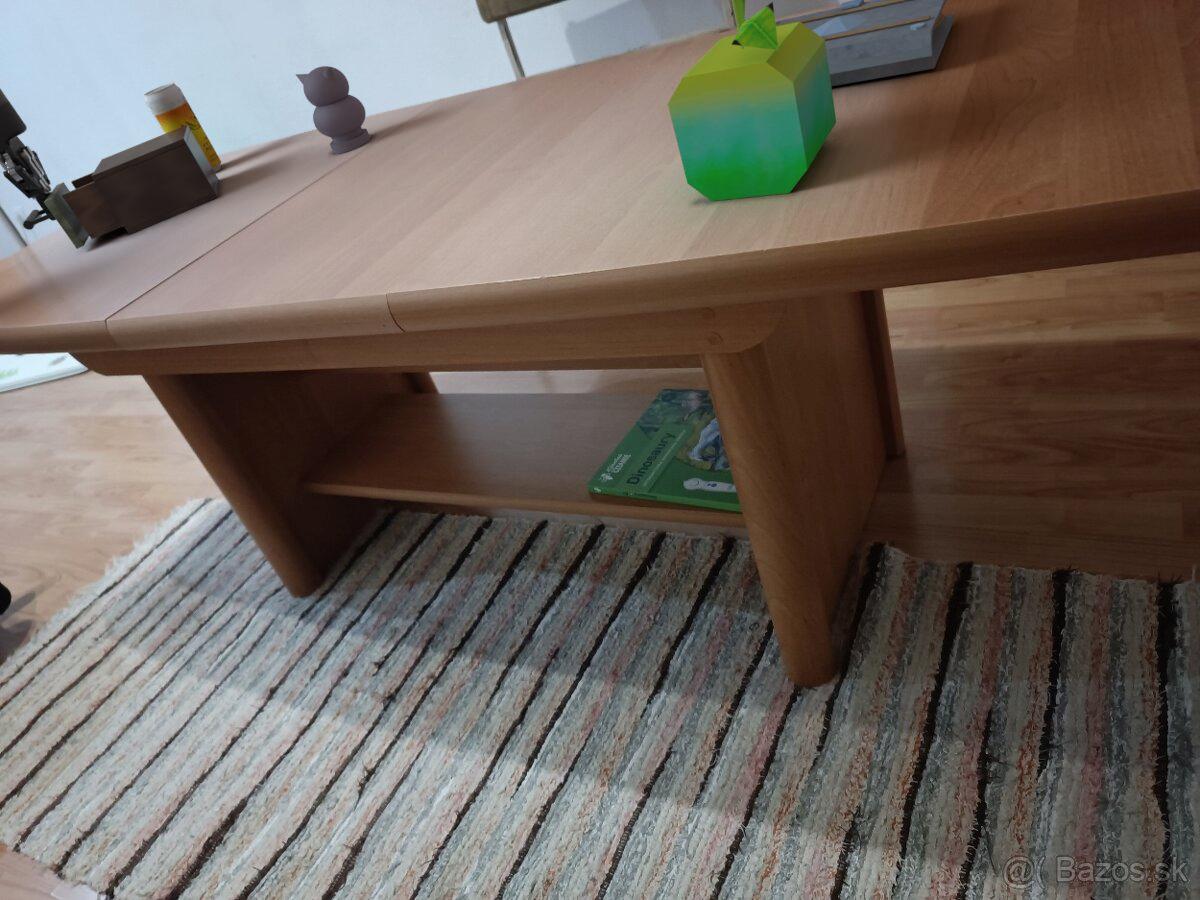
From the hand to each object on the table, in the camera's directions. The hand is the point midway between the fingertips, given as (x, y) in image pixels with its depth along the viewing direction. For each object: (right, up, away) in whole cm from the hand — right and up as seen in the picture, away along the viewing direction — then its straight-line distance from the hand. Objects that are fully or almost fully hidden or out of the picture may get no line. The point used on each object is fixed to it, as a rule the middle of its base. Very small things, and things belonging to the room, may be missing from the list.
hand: (58, 217), depth 137 cm
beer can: (+15, +13, +18) cm, 27 cm away
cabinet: (+16, +3, +5) cm, 17 cm away
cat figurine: (+46, +12, +1) cm, 48 cm away
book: (+112, +5, -41) cm, 120 cm away
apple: (+100, -12, -58) cm, 117 cm away
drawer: (+6, -1, +3) cm, 7 cm away
